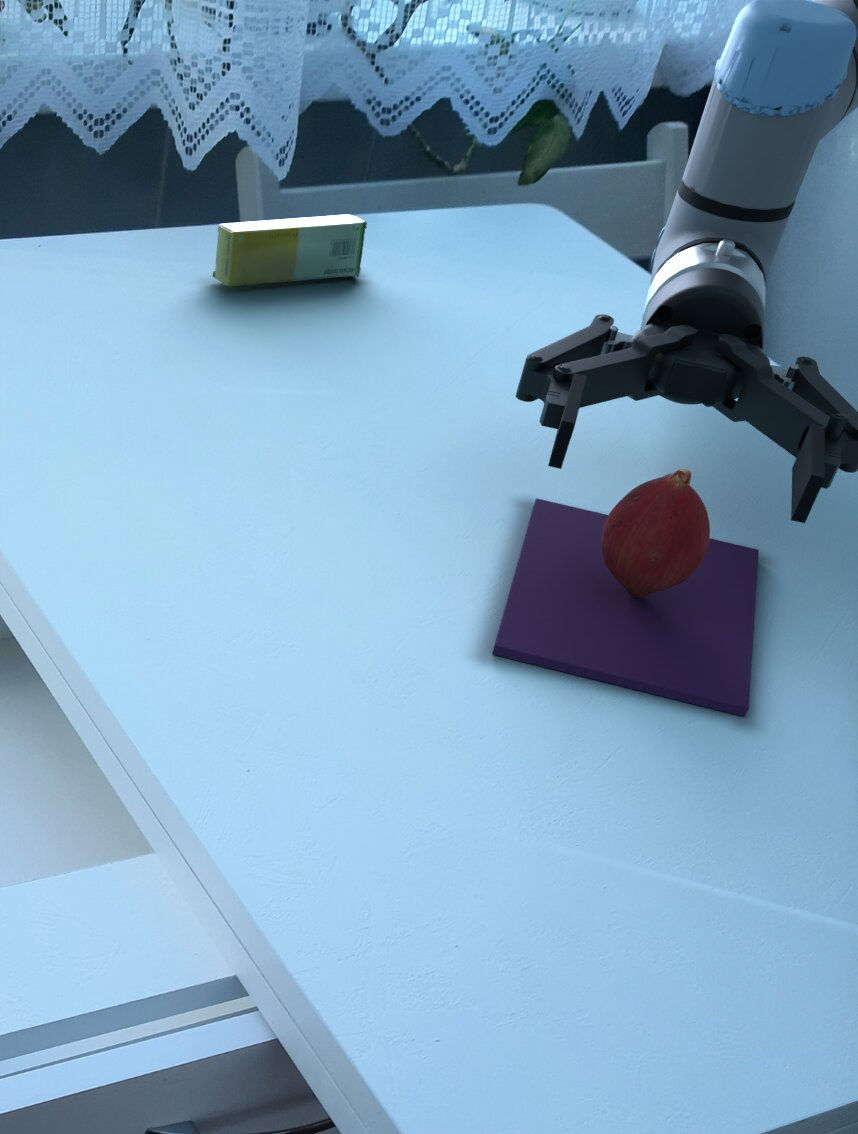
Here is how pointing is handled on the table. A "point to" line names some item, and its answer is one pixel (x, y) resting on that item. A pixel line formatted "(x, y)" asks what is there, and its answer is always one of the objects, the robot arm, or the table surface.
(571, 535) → the mat
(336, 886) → the table surface
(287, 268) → the medication box
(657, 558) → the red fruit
